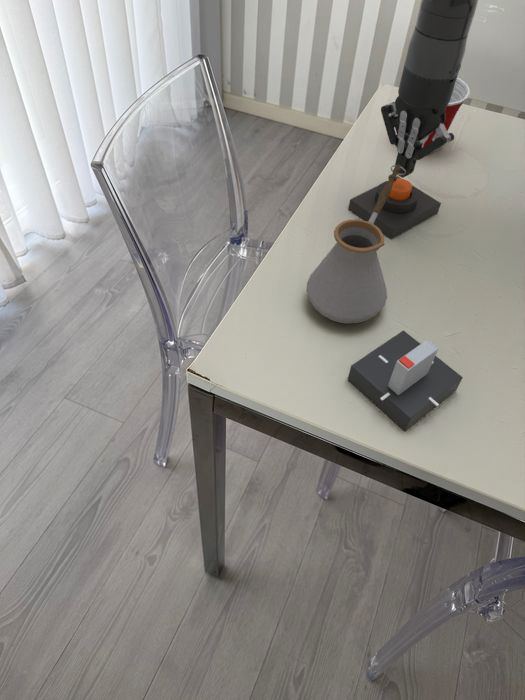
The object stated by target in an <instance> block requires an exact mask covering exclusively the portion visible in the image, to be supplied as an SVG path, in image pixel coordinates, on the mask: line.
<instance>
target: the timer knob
mask: <svg viewBox="0 0 525 700" xmlns="http://www.w3.org/2000/svg"><path fill="white" fill-rule="evenodd" d="M438 351H439V348H438V347H437V346H436V345H434V343H432V342H431V341H430V340H428V339H426V340H424V341H423V342H422V343H420V345H419V346H417V347H416V348H415V349H413V350H412V351H410V352H409V353H408V354H406V355H405V356H403V357H402V358H400V359H399V360H398V361H397V362H396V365H395V367H394V370H393V373H392V376H391V379H390V381H389V384H388V387H389V388H390V389H392V390H393V391H394V392H395V393H396V394H397V395H400V394H401V393H402V392H404V391H405V390H406V389H408V388H409V387H410V386H412V385H413V384H414V383H416V382H417V381H418V380H420V379H421V378H423V377H424V376H425V375H427V374H428V371H429V369H430V367H431V364H432V362H433V360H434V358H435V356H437V353H438Z"/></svg>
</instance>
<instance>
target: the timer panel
mask: <svg viewBox="0 0 525 700" xmlns="http://www.w3.org/2000/svg"><path fill="white" fill-rule="evenodd" d="M420 344H421V342H419V341H418V340H417V339H415V338H414V337H413V336H411V335H410V333H408V332H406V330H404V329H403V330H402V331H400V332H399V333H397V334H396V335H394V336H393V337H391V338H390V339H388V340H386V341H385V342H384V343H382V344H381V345H379V346H378V347H377V348H375V349H373V350H372V351H370V352H369V353H368V354H366V355H364V356H363V357H361V358H360V359H359V360H357V361H355V363H353V364H351V365H350V369H349V372H348V376H347V381H348V382H349V383H351V385H353V386H354V387H355V388H356V389H357V390H358V391H359V392H360V393H361V394H363V395H364V396H365V397H366V398H367V399H368V400H369V401H370V402H372V404H373V405H375V406H376V407H377V408H378V409H379V410H380V411H381V412H383V414H385V415H386V416H387V418H389V419H390V420H391V421H392V422H394V423H395V424H396V425H397V426H398V427H399V428H400V429H401V430H402V431H404V432H406V431H408V430H409V429H410V428H412V426H414V425H415V424H416V423H418V422H419V421H420V420H421V419H423V418H424V417H425V416H426V415H428V414H429V413H430V412H431V411H433V410H434V409H435V408H436V407H439V406H440V404H442V403H443V402H444V401H446V399H448V398H450V396H452V395H453V394H454V393H456V392H457V390H458V387H459V386H460V384H461V382H462V380H463V376H462V375H461V374H459V373H458V372H456V370H454V369H453V368H452V367H451V366H449V365H448V364H447V363H445V362H444V361H443V360H442V359H441V358H439V357H438V356H437V355H435V358H434V360H433V362H432V364H431V367H430V369H429V371H428V374H427V375H425V376H424V377H423V378H421V379H420V380H418V381H417V382H416V383H414V384H413V385H412V386H410V387H409V388H408V389H406V390H405V391H404V392H402V393H401V394H400V395H397V394H396V393H395V392H394V391H393V390H392V389H390V388H389V387H388V384H389V381H390V379H391V376H392V373H393V370H394V367H395V365H396V362H397V361H398V360H399V359H400V358H402V357H403V356H405V355H406V354H408V353H409V352H410V351H412V350H413V349H415V348H416V347H417V346H419V345H420Z"/></svg>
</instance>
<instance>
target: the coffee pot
mask: <svg viewBox="0 0 525 700" xmlns="http://www.w3.org/2000/svg"><path fill="white" fill-rule="evenodd" d="M400 168H401V169H403V170H404V171H405V173H406V170H405V169H404V168H403V167H401V166H400V165H399V164H397V165H395V164H394V165H391V167H390V171H391V172H392V173H391V174H389V175H388V176H387V178H388V180H387V181H388V182H387V183H386V185H385V186H384V187H383V189H382V191H381V193H380V196H379V198H378V200H377V203H376V205H375V208H374V210H373V212H372V215H371V217H370V219H369V221H364V220H362V219H355V218H353V219H346V220H343V221H341V222H340V223H338V224H337V226H335V228H334V230H333V237H334V240H335V242H336V243H335V244H334V245H333V247H332V248H331V249H330V250H329V251H328V253H327V254H326V256H325V257H324V258H323V259H322V260H321V262H320V263H319V264H318V265H317V267H315V269H314V270H313V272H311V274H310V275H309V278H308V280H307V282H306V294H307V297H308V300H309V302H310V304H311V305H312V307H313V308H314V309H315V311H317V312H318V313H319V314H320V315H322V316H323V317H325V318H327V319H328V320H331V321H333V322H336V323H339V324H357V323H362V322H365V321H368V320H371V319H373V317H375V316H376V315H378V313H380V312H381V310H382V309H383V308H384V307H385V305H386V302H387V299H388V292H387V286H386V282H385V279H384V275H383V271H382V267H381V263H380V259H379V256H378V252H377V251H378V250H380V249H381V248H382V247H384V246H385V245H386V244H385V237H384V236H385V235H384V234H382V232H381V230H380V229H379V228H378V227H377V226H375V225H374V222H375V220H376V217H377V215H378V214H379V213H380V211H381V209H382V207H383V205H384V204H385V202H386V200H387V198H388V196H389V195H390V193H391V189H392V186H393V183H394V182H395V181H396V180H397V177H396V176H399V175H405V173H404V174H399V171H400Z"/></svg>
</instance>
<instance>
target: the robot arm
mask: <svg viewBox="0 0 525 700" xmlns="http://www.w3.org/2000/svg"><path fill="white" fill-rule="evenodd" d="M478 3H479V0H421V1H420V3H419V4H420V5H419V8H418V13H417V17H416V21H415V26H414V28H413V29H414V30H413V32H412V35H411V37H410V41H409V43H408V47H407V52H406V56H405V59H404V64H403V67H402V73H401V77H400V81H399V86H398V91H397V93H398V96H397V97H395V99H394V100H395V101H391V102H390V103H387V104H385V105H382V106H381V107H380V112H381V116H382V120H383V123H384V127H385V130H386V134H387V137H388V141H389V143H390V145H392V146H395V147H396V151H397V154H396V159H395V163H394V165H397V164H399V165H400V166H401V167H403V168H404V169H405V170H406V173H405V171H404V170H403V169H401V168H400V171H399V174H404V173H405V175H398V177H400V178H401V179H404V178H406V177H407V176H409V175H411V174H413V172H414V171H415V169H416V164H417V161H421V160H422V159H424V158H426V157H428V156H430V155H432V154H433V153H435V152H436V151H438V150H440V149H441V148H443V147H445V146H446V145H448V144H450V143H451V142H452V141H454V140H455V134H454V133H452V132H448V131H447V130H446V128H445V126H444V123H445V120H446V115H445V110H446V107H447V105H448V104H449V102H450V99H451V96H452V92H453V89H454V86H455V83H456V79H457V78H458V76H459V73H460V70H461V68H462V63H463V60H464V56H465V52H466V48H467V42H468V41H467V40H468V37H469V34H470V30H471V27H472V24H473V20H474V17H475V14H476V10H477V7H478ZM434 131H436V133H435V135H434V136H433V138H432V141H433V142H432V143H430V144H429V145H427V146H426V147H424V148H423V146H424V143H425V142H426V141H427V139H428V137H429V135H430V134H432V133H433V132H434Z"/></svg>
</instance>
